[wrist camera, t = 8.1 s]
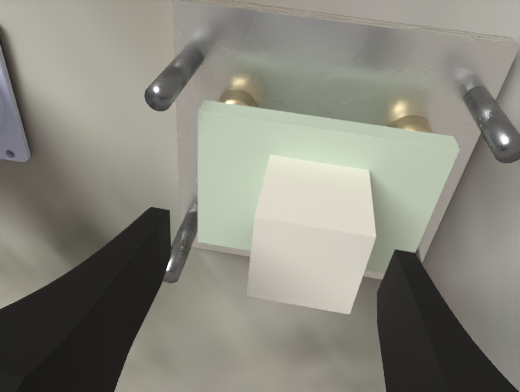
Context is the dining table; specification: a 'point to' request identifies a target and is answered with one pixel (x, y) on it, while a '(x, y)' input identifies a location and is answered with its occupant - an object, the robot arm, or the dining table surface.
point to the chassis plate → (330, 86)
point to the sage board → (320, 140)
